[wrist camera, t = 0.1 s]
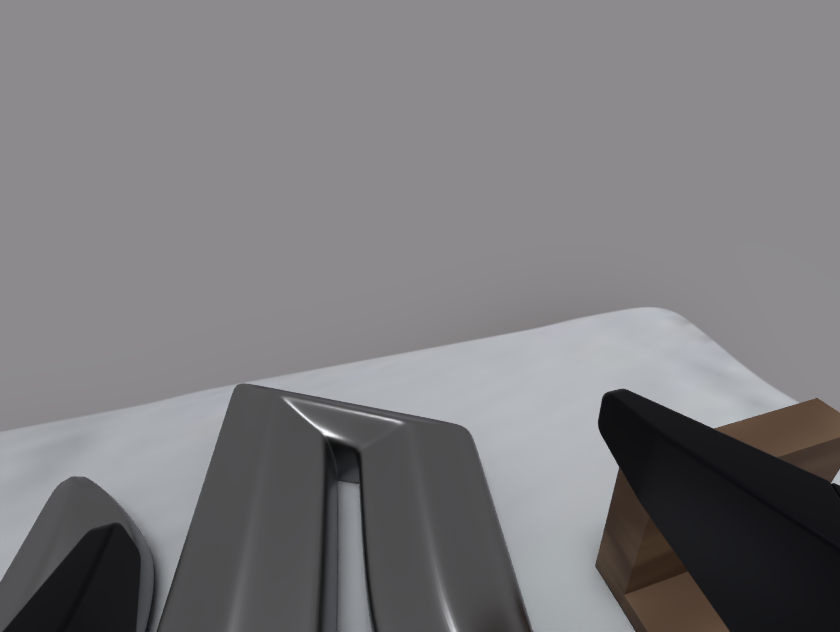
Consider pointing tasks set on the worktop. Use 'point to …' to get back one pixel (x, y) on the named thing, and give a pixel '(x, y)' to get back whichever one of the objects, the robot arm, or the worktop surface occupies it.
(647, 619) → the board
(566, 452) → the worktop surface
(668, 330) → the worktop surface
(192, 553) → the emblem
